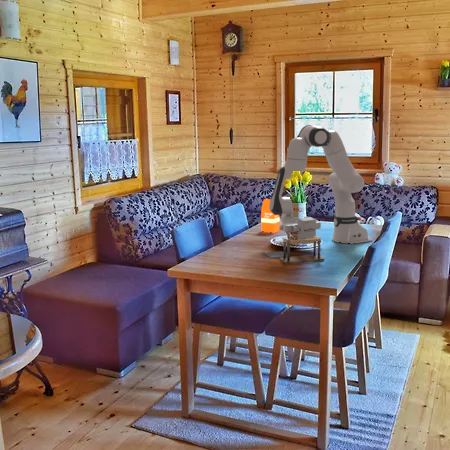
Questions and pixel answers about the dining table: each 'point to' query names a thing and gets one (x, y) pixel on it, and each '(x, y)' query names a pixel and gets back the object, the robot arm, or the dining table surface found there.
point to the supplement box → (306, 229)
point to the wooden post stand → (301, 242)
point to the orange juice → (269, 218)
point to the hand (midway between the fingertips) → (307, 229)
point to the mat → (275, 254)
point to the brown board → (302, 259)
